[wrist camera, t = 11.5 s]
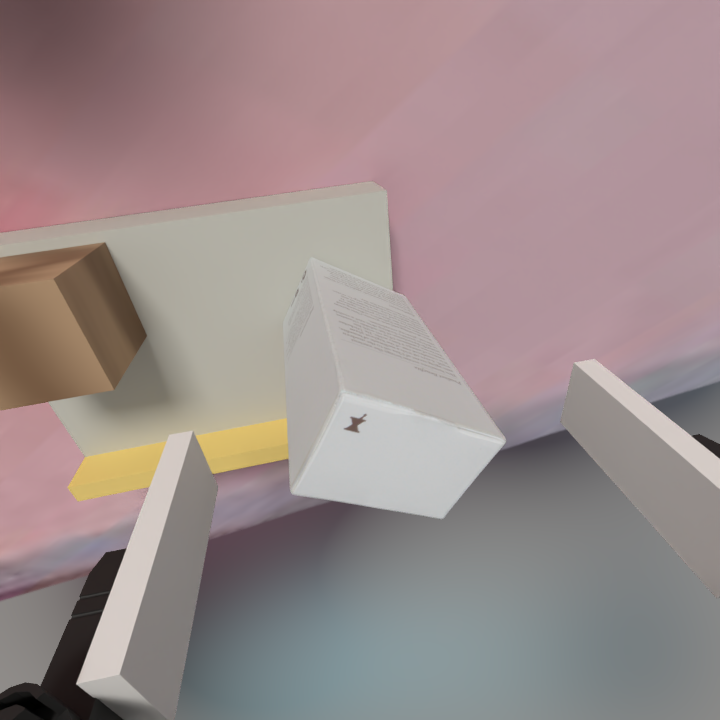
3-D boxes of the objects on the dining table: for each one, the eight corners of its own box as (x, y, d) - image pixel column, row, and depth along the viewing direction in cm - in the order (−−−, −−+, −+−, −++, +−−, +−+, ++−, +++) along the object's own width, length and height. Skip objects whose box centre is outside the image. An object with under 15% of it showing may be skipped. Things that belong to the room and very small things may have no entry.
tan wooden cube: (104, 242, 18) (53, 278, 14) (147, 335, 21) (114, 390, 17) (-10, 258, 18) (-99, 301, 14) (48, 352, 20) (-11, 412, 16)
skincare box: (280, 323, 22) (281, 496, 12) (309, 253, 20) (339, 387, 10) (375, 355, 24) (444, 525, 14) (408, 295, 22) (514, 438, 12)
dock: (372, 180, 22) (399, 198, 17) (388, 381, 30) (410, 433, 25) (-5, 233, 20) (-96, 270, 15) (113, 433, 28) (77, 501, 23)
